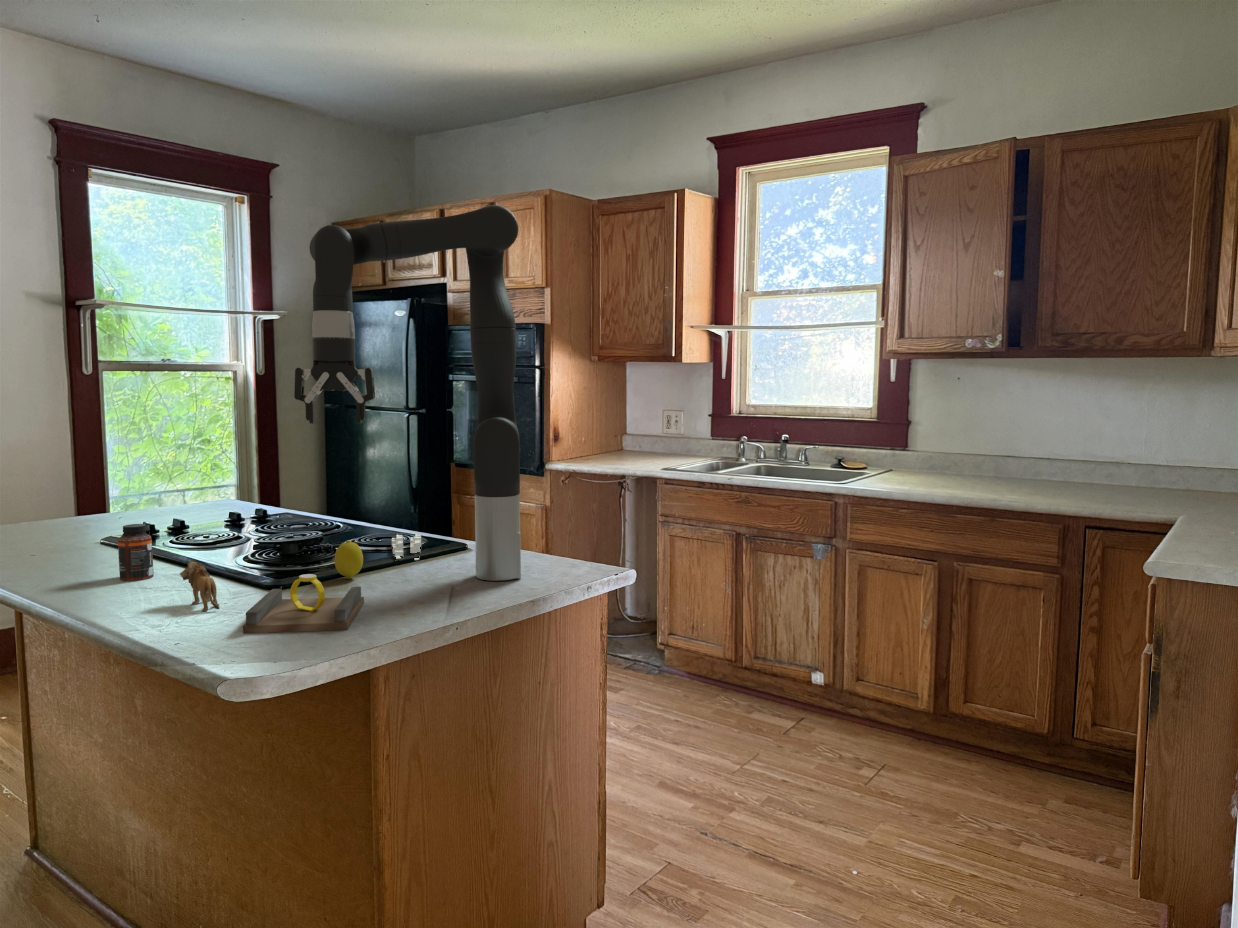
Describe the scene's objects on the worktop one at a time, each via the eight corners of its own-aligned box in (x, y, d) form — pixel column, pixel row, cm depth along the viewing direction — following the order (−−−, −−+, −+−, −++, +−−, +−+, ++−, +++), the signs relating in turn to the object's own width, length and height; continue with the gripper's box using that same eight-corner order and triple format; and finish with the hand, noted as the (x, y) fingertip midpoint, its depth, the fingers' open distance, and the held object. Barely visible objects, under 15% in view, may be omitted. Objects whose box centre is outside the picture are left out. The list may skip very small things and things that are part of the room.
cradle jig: (364, 603, 153) (363, 585, 152) (347, 629, 136) (347, 610, 136) (271, 606, 150) (270, 588, 150) (242, 633, 134) (242, 613, 133)
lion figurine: (178, 602, 153) (176, 562, 152) (203, 597, 156) (201, 558, 156) (207, 613, 145) (205, 572, 145) (232, 609, 148) (230, 568, 148)
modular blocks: (391, 550, 205) (391, 534, 204) (420, 549, 207) (420, 533, 206) (394, 567, 186) (393, 549, 185) (426, 566, 188) (425, 548, 187)
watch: (287, 610, 143) (286, 576, 142) (298, 606, 145) (297, 572, 145) (317, 613, 141) (316, 578, 140) (328, 609, 144) (327, 575, 143)
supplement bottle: (160, 579, 171) (158, 523, 170) (132, 585, 166) (130, 528, 165) (140, 576, 174) (138, 521, 173) (113, 582, 169) (110, 526, 168)
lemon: (355, 582, 169) (354, 543, 168) (329, 581, 170) (328, 542, 169) (368, 576, 174) (367, 538, 173) (343, 575, 175) (343, 537, 175)
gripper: (375, 338, 163) (377, 422, 164) (298, 337, 161) (301, 422, 162) (370, 335, 155) (372, 424, 157) (289, 335, 153) (291, 424, 155)
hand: (336, 423), depth 159 cm, fingers open, 8 cm apart
